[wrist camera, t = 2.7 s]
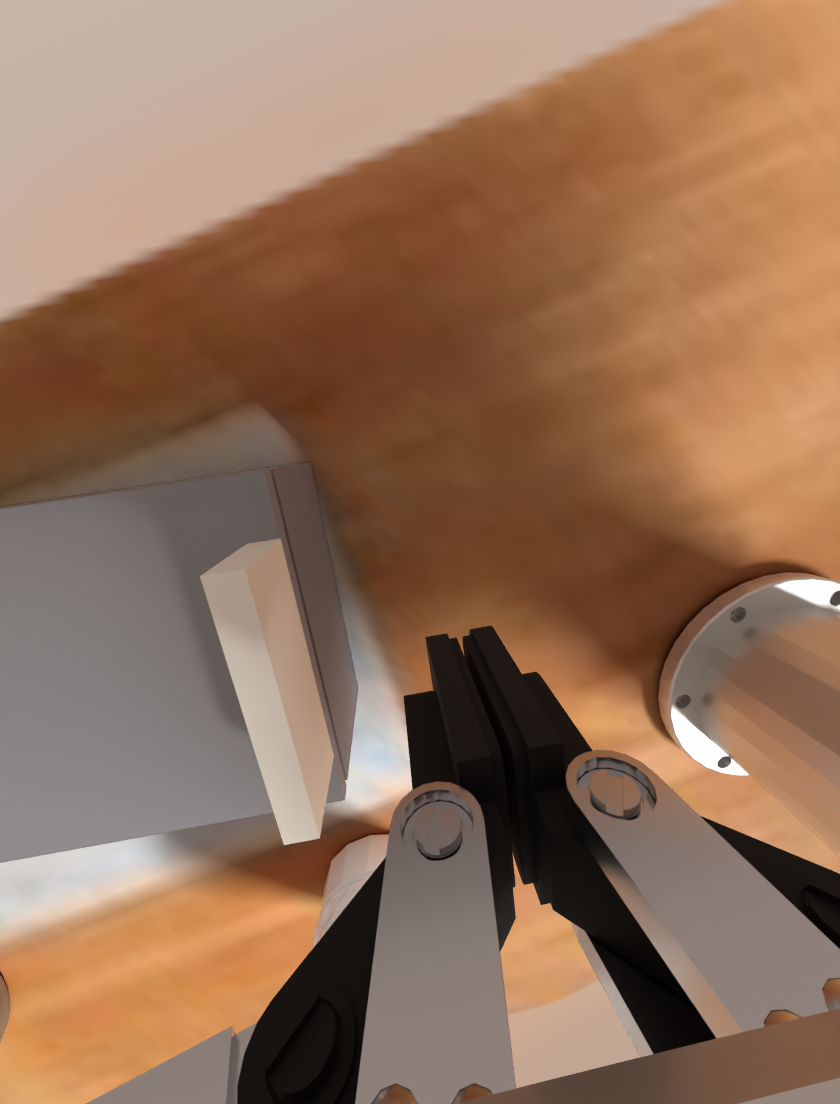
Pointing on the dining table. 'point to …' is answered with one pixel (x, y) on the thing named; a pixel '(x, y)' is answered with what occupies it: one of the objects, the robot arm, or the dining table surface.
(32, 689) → the mailer lid
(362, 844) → the white cup
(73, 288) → the dining table surface
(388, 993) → the robot arm
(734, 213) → the dining table surface
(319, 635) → the box
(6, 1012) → the plant pot
